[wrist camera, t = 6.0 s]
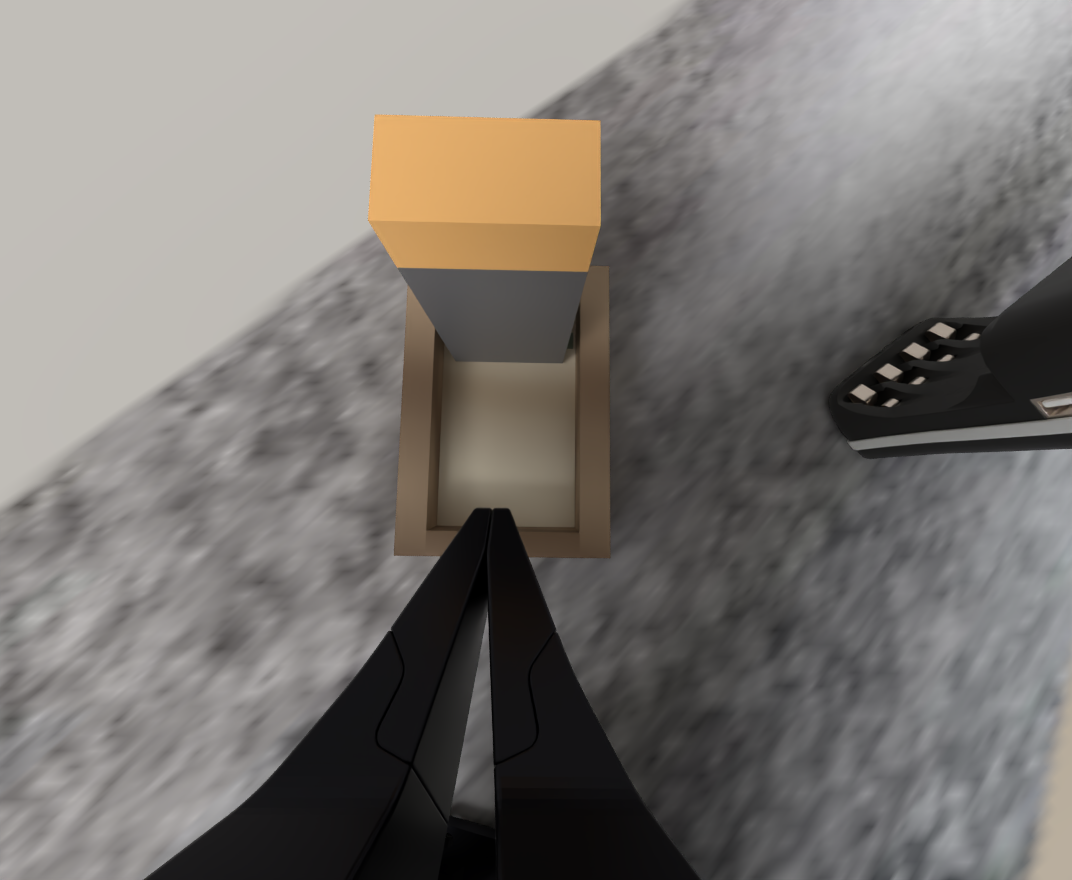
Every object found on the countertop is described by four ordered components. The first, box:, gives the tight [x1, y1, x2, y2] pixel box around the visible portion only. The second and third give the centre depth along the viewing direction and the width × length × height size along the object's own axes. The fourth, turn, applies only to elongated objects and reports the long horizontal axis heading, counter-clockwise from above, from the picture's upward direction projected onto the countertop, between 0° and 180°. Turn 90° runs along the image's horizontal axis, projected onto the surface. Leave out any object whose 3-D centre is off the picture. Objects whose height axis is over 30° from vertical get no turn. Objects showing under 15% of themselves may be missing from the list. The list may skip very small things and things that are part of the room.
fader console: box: [394, 266, 610, 558], centre depth 15 cm, size 10×7×3 cm
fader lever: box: [368, 115, 601, 363], centre depth 11 cm, size 2×4×8 cm, turn 89°
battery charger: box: [829, 257, 1072, 459], centre depth 11 cm, size 7×4×11 cm, turn 127°
